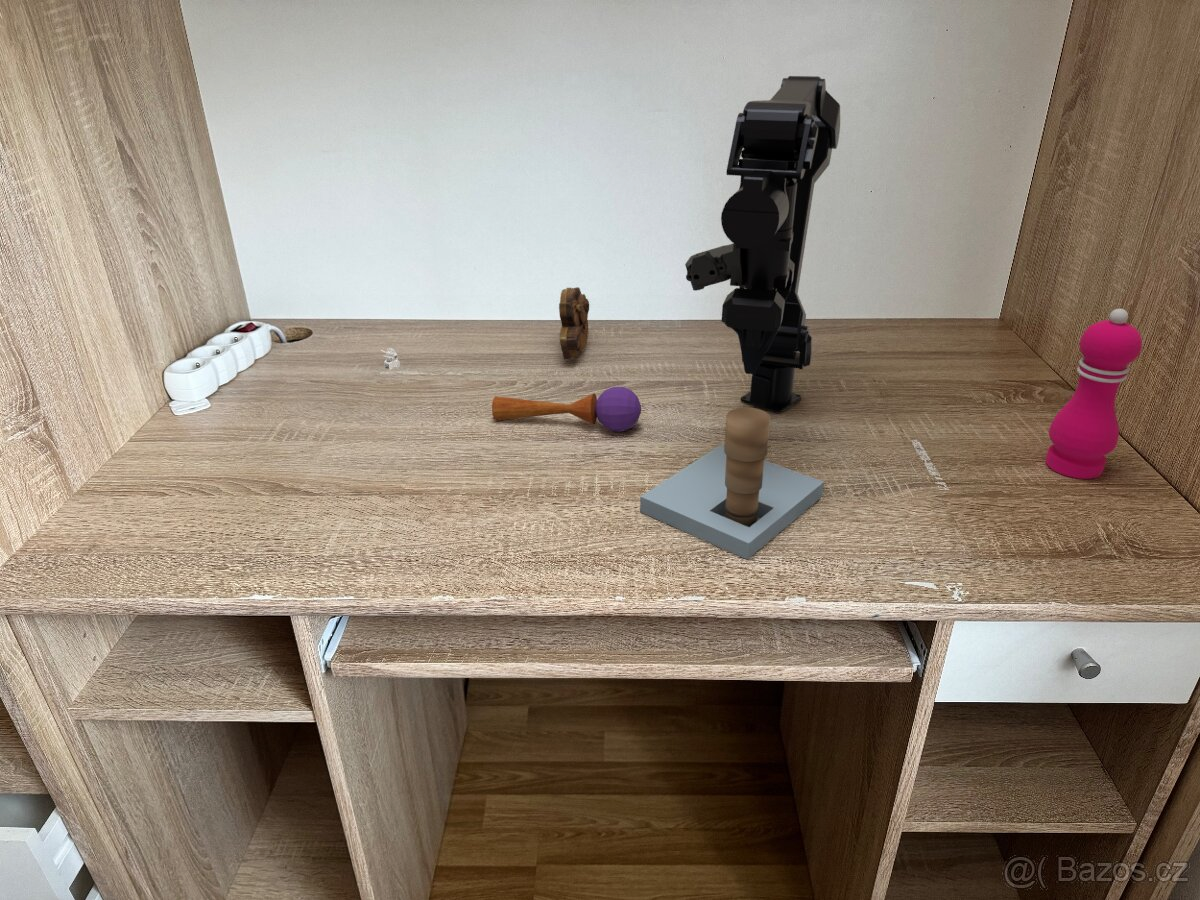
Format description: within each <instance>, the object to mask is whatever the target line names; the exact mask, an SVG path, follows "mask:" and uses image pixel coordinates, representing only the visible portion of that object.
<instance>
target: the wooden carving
mask: <svg viewBox="0 0 1200 900" xmlns="http://www.w3.org/2000/svg"><path fill="white" fill-rule="evenodd" d="M558 309H559V310H558V311H559V319H560V322H561V328H560V331H559V344H560V348H561V352H562V357H563V360H571V359H578V358H579V356H580V355H579V352H581V351H582V352H583V351H584V350H585V349H586V346H587V343H588V337H589V335H588V334H589V320H588V317H589V311H590V301H589V299H588V298H587V296H586V295H585V294H584V293H582V292H581V288H580V287H566V288H565V289H562V290H561V292H560V299H559V303H558Z"/></svg>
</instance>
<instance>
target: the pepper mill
mask: <svg viewBox="0 0 1200 900" xmlns="http://www.w3.org/2000/svg"><path fill="white" fill-rule="evenodd" d="M1108 319H1109V320H1105V319H1104V320H1101V321H1097V322H1094V323H1093V324H1091V325H1090V326H1089V327H1087V328H1086V329H1085V330H1084V332H1083V333H1082V335H1081V337H1080V340H1079V350H1080V352H1081V354H1082V356H1083V357H1081V358H1080V359H1079V362H1078V364H1079V365H1078V366H1077V369H1076V370H1077V373H1078V374H1079V379H1078V383H1077V386H1076V388H1075V391H1074V393H1073V395H1072V396H1071V397H1070V399H1069V400H1068V401H1067V402H1066V404H1065V405H1064V406H1063V407H1061V408H1060V410H1059V411H1058V412H1057V413H1056V415H1055V416H1054V418H1053V420H1052V421H1051V424H1050V426H1049V429H1048V435H1049V439H1050V440H1051V441H1050V442H1051V443H1052V444H1051V445H1050V446H1049V447H1048V449H1047V452H1046V456H1045V464H1046V465H1047V466H1048V468H1050V469H1051V471H1054V472H1056V473H1058V474H1060V475H1062V476H1065V477H1069V478H1074V479H1080V480H1090V479H1096V478H1099V477H1100V476H1101V475H1102V474H1103V472H1104V470H1105V467H1106V463H1107V458H1106V456H1107V455H1109V454H1110V453H1111V452H1113V451H1114V450H1115V449H1116V447H1117V445H1118V440H1119V436H1120V429H1119V422H1118V418H1117V415H1116V408H1115V407H1116V406H1115V405H1116V396H1117V393H1118V390H1119V387H1120V385H1121V383H1122V382H1124V381H1125V380H1127V378H1128V372H1130V366H1129V364H1130V363H1133V362H1134V361H1135V360H1136V359H1137V358H1138V357H1139V356H1140V353H1141V351H1142V347H1143V340H1142V336H1141V334H1140V332H1139V330H1138V329H1136V328H1135V327H1134V326H1133V325H1131V324H1129V323H1127V321H1128V319H1129V314H1128V311H1127V310H1125V309H1124V308H1115V309H1114V310H1112V311H1111V312H1110V314H1109V317H1108Z"/></svg>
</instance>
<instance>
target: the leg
mask: <svg viewBox="0 0 1200 900" xmlns="http://www.w3.org/2000/svg"><path fill="white" fill-rule="evenodd" d="M770 425H771V417H770V414H769V413H768V412H766V411H765V410H762V409H760V408H755V407H750V406H749V407H748V406H747V407H744V406H743V407H736V408H733V409H731V410H729V411H728V412H727V413H726V415H725V428H724V429H725V433H724V446H725V447H724V452H725V454H726V472H725V486H726V487H727V496H726V504H725V510H726V513H725V518H728V519H730V520H733V521H735V522H737V523H740V524H742V525H745V526H747V527H751V526H752V525H753V524H754V523H756V522H757V513H758V509H759V506H758V500H759V490H760V489H761V488H762V480H763V468H764V460H765V457H767V455H768V448H769V446H768V445H769V435H770Z"/></svg>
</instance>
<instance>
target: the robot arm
mask: <svg viewBox="0 0 1200 900" xmlns="http://www.w3.org/2000/svg"><path fill="white" fill-rule="evenodd" d="M826 88H827V87H826V78H821V76H818V75H817V76H814V75H812V76H811V75H810V76H808V75H805V76H804V75H801V76H800V75H789V76H788V77H783V78H782V80H781V84H780V88H779V89H778V90H777V91H776V93H774V95H773V96H772V97H771V99H769V100H767V99H766V100H763V99H762V100H751V101H748V102H747V103H746V104H745V105H744V107H743V111H742V112H738V114H737V118H736V122H735V126H734V130H733V137H732V142H731V146H730V150H729V151H730V152H729V157H728V161H727V167H726V171H725V172H726V175H727V176H737V177H739V176H740V185H739V188H738V190H737V191H736V192H735V193H734V194H732V195H731V196H730V197H729V198H728V199H727V201H726V202H725V204H724V206H723V208H722V212H721V216H720V221H721V223H720V224H721V227H722V232H723V233H724V234H725V236H726V238H727V239H729V241H730V242H731V243H730V244H726V245H721V246H718V247H715V248H712V249H707V250H705V251H704V250H703V251H702V252H698V253H695V254H692V255H691V256H690V257H689V258H688V259H687V261H686V262H685V263H684V264H685V268H686V276H685V279H686V280H687V281H688V282H690V284H691V287H692V290H693V291H700V290H704V288H705V287H708V286H712V285H716V284H719V283H722V282H723V283H724V282H726V281H729V286H732V287H736V288H734V289H733V290H732V291H731V292H730V293H728V294H727V295H726V296H725V299H724V301H723V304H722V310H721V323H723V324H724V325H725V326H726V327H727V328H729V329H730V328H731V330H733V332H735V334H737V335H738V337H737V338H738V341H739V347H740V352H741V362H742V363H743V369H744V373H745V374H746V375H751V379H750V380H751V383H750V391H749V392H748V393H746V394H744V395H742V396H741V397H740V402H742V403H745V404H748V405H752V406H755V407H758V408H762V409H764V410H767V411H770V412H773V413H778V414H779V413H780V414H781V413H783V412H784V411H786V410H788V408H791V407H792V406H794V405H795V404H796V403H798V402H799V401H801V400H802V395H801V394H799V393H794V392H793V390H794V388H793V387H794V379H795V370H796V369H798V370H804V367H809V366H811V363H812V355H813V354H812V351H813V350H812V349H813V337H812V335H811V334H810V329H809V325H806V319H807V313H806V310H805V308H804V306H803V304H802V300H801V298H800V296H799V294H798V293H799V286H800V280H801V273H802V268H803V261H804V255H805V249H806V241H807V233H808V228H809V221H810V217H811V216H810V215H811V209H812V208H811V207H812V201H813V195H814V188H815V184H816V182H817V181H818V180H819V179H820V177H821V176H822V175H823V173H825V171H826V170H827V169H828V167H829V165H830V163H831V158H832V153H833V149H834V150H836V149H837V148H838V144H839V139H840V133H841V132H840V131H841V105H840V103H839V102H838V101H837V100H836V99H835V98H834V97H833V96H832V95H831V94H830V93H829V92H828V90H826Z"/></svg>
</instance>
